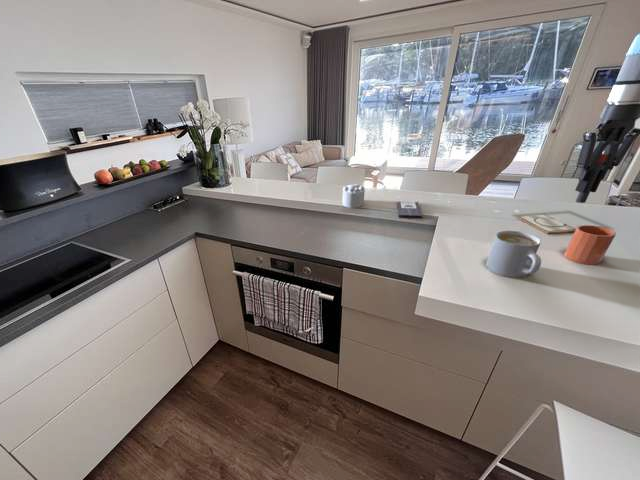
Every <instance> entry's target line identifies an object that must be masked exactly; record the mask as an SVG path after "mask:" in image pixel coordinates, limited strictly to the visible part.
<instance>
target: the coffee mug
mask: <svg viewBox="0 0 640 480" xmlns="http://www.w3.org/2000/svg"><path fill="white" fill-rule="evenodd" d="M540 245H541V239H540V238H539V237H538V236H536V235H535V234H532V233H528V232H524V231H519V230H501V231H498V232H497V233H495V236H494V239H493V242H492V245H491V249H490V251H489V254H488V257H487V260H486V263H485V267H486V268H487V270H489V271H490V272H491V273H493V274H495V275H499V276H501V277H505V278H510V279H511V278H512V279H519V278H524V277H526V276H527V275H532V274H535V273H537V272H538V271H539V269H540V268H541V265H542V259H541V256H540V255H539V254H537V253H538V250H539V249H540Z"/></svg>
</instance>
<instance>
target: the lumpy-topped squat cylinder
mask: <svg viewBox="0 0 640 480" xmlns="http://www.w3.org/2000/svg"><path fill="white" fill-rule="evenodd" d="M365 191H366V189H365V187H364V186H363V185H360V184H357V183H356V184H355V183H354V184H348V185H345V186H344V187H342V206H344V207H346V208H350V209H357V208H360V207H362V206H364V204H365Z"/></svg>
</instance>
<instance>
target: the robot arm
mask: <svg viewBox="0 0 640 480" xmlns="http://www.w3.org/2000/svg"><path fill="white" fill-rule="evenodd" d="M606 102H607V103H608V104H605V105H604V107H603V109H602V111H601V114H600V116H599V120H600V121H599V123H598V124H597V125H596V127H595V129H593V130H591V131H585V132H583V134H582V138H583V140H582V145H581V148H580V152H579V155H578V159H577V161H576V165H575V166H576V168H580V169H581V172H580V174H579V177H578V183H577V185H576V187H575V189H574V191H576V192H581V193H585V192H586V190H587V188H588V186H589V184H590V182H591V180H592V177H593V175H594V173H595V170H593V169H594V167H595V165H596V163H597V162H598V160H599V158H600V156H601V155H602V154H608V156H607V158H606V160H605V162H604V163H603V165H602V167H601V170H600V172H599V174H598V176H597V178H596V180H595V183H594V185H593V187H592V189H591V191H590V193H596V192H597V190H598V188H599V186H600V184H601V182H602V181H603V180H604V179H605V178H606V175H607V173H608V171H612V170H613V169H614V168H615V167H616V168H617V167H618V166H619V165H620V164H621V162H622V160H623V159H624V157H625V156H626V154H628V153H627V152H628V151H629V149H630V148H631V146H632V145H633V143H634V142H635V140H636V139H637V138H638V137H639V136H640V128H637V127H635V126H636V120H639V119H640V32H639V33H638V34H637V35H636V36H635V37H634V40H633V41H632V43H631V45H630V47H629V49H628V51H627V52H626V53H625V58H624V60H623V63H622V66H621V68H620V70H619V73H618V75H617V78H616V79H615V82H614V84H613V86H612V88H611V91H610V93H609V96H608V98H607V101H606Z"/></svg>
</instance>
